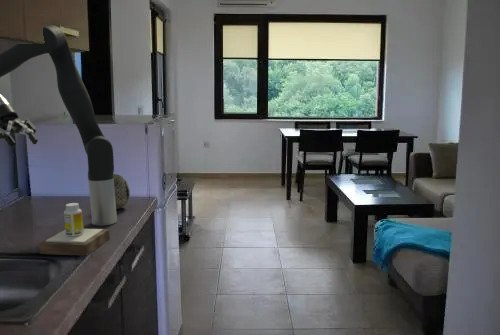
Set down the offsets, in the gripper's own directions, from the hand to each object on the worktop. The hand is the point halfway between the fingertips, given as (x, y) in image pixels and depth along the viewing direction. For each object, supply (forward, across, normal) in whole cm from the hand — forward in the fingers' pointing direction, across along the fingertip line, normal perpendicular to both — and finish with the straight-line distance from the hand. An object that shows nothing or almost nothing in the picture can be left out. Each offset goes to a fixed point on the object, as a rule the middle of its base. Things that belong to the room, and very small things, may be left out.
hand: (25, 144), depth 169 cm
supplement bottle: (+37, -2, +4) cm, 38 cm away
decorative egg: (+24, +39, +22) cm, 51 cm away
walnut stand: (+40, -2, +6) cm, 41 cm away
